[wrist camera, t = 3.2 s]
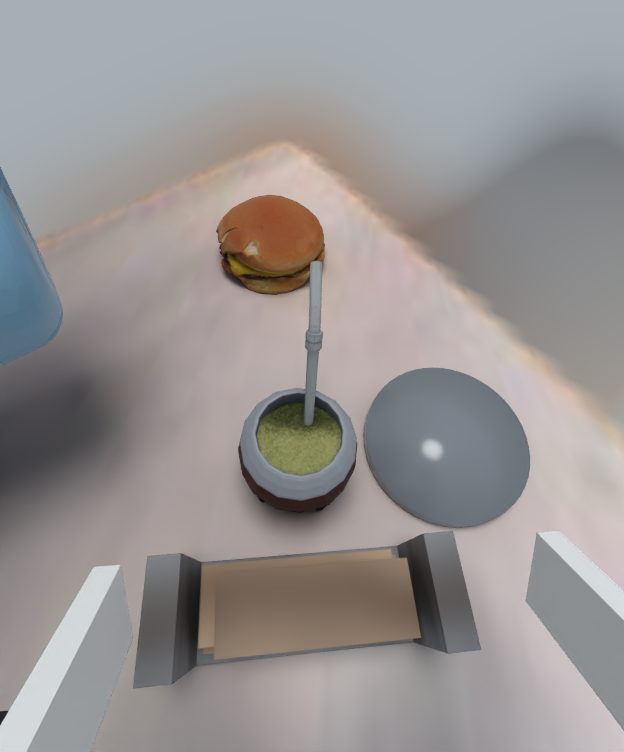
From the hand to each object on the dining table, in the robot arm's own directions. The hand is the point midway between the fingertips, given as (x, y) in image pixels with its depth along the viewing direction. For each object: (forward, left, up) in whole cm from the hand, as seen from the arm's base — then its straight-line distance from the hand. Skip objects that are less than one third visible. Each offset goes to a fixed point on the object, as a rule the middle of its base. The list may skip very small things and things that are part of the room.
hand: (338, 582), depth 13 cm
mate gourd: (-6, +6, -14) cm, 16 cm away
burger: (-19, +21, -14) cm, 32 cm away
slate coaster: (+2, +14, -14) cm, 20 cm away
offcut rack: (0, -1, -14) cm, 14 cm away
